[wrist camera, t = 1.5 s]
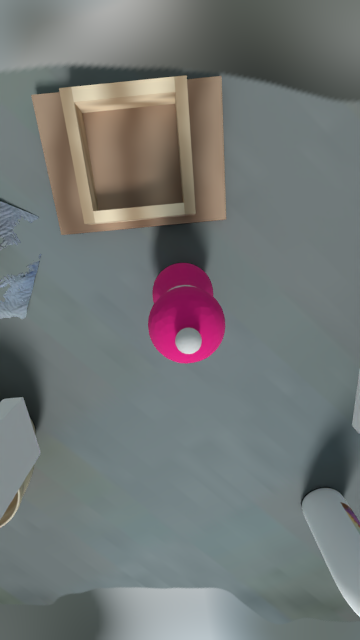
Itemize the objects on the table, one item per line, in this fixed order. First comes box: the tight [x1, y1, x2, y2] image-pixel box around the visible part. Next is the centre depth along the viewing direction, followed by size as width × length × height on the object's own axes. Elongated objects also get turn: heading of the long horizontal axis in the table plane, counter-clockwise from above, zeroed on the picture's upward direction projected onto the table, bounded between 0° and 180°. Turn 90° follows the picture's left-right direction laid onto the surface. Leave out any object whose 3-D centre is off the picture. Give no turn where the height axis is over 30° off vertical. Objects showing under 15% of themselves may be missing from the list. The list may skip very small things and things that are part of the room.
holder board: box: [31, 75, 226, 235], centre depth 29 cm, size 20×14×4 cm
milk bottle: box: [302, 488, 360, 617], centre depth 39 cm, size 8×8×20 cm
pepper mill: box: [148, 263, 225, 363], centre depth 26 cm, size 7×7×20 cm
